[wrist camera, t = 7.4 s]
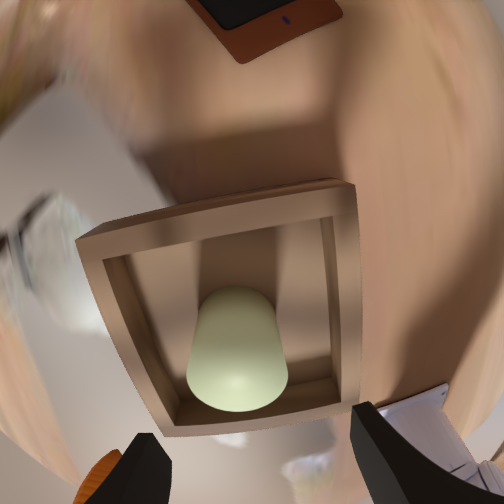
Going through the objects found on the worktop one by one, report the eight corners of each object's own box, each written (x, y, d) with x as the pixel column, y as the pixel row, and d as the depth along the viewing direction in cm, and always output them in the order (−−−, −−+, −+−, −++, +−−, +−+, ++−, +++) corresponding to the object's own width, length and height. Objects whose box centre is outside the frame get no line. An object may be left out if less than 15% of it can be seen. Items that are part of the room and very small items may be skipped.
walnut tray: (344, 375, 20) (358, 408, 17) (171, 402, 20) (164, 437, 17) (331, 177, 16) (355, 184, 12) (103, 222, 16) (74, 240, 13)
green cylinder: (279, 344, 18) (291, 404, 13) (208, 355, 18) (201, 415, 13) (270, 279, 16) (282, 331, 12) (190, 292, 16) (173, 346, 12)
